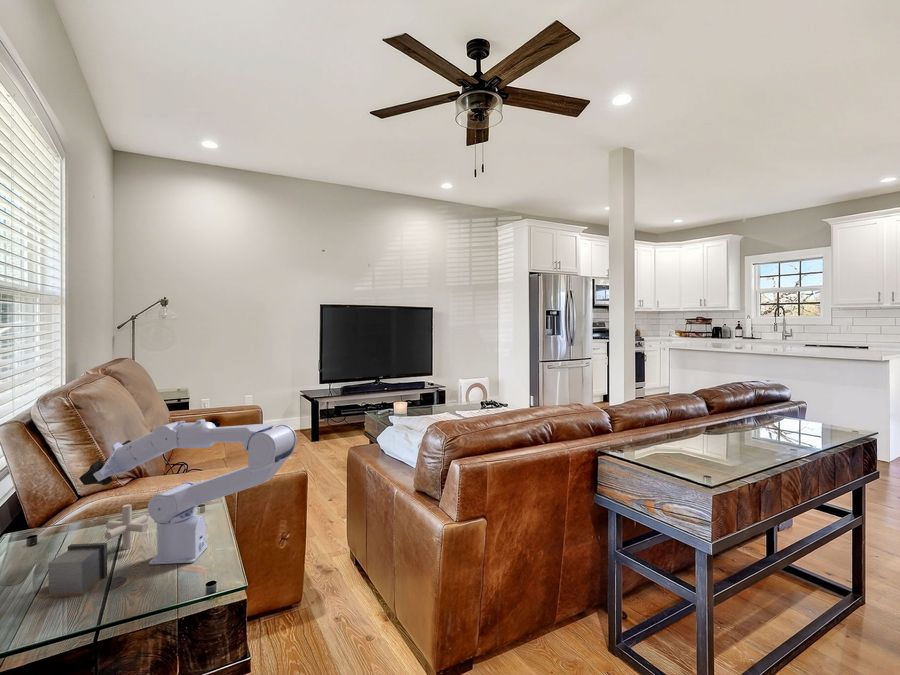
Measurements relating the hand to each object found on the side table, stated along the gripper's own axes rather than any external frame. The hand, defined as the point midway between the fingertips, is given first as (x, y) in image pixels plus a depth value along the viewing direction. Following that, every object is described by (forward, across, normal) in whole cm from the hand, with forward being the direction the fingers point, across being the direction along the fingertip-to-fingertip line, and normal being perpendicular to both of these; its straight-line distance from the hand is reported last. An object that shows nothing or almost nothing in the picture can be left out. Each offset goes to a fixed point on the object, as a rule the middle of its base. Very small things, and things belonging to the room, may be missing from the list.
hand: (95, 471), depth 111 cm
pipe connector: (+1, +4, +19) cm, 20 cm away
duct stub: (-3, +20, +16) cm, 26 cm away
